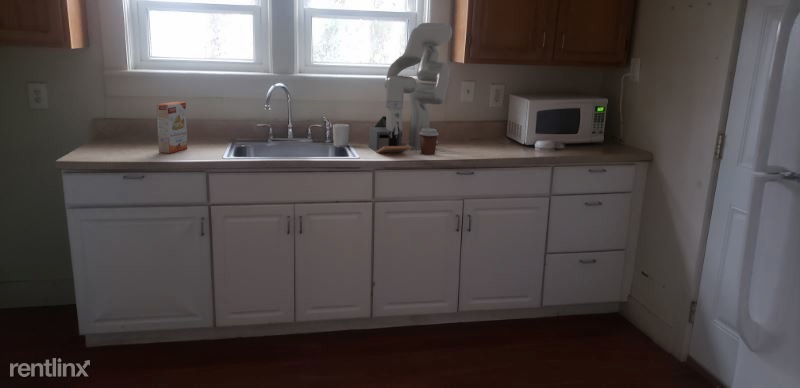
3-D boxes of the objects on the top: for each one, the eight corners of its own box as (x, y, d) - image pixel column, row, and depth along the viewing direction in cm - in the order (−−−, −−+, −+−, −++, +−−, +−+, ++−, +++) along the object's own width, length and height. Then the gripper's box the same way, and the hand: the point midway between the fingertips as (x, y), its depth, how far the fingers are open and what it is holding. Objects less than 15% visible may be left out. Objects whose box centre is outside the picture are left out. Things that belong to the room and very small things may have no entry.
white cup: (329, 145, 291) (329, 125, 288) (338, 143, 298) (338, 123, 295) (343, 147, 287) (343, 126, 285) (351, 145, 294) (352, 125, 292)
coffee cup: (429, 157, 271) (430, 131, 268) (413, 154, 277) (415, 128, 274) (441, 155, 278) (443, 129, 275) (426, 152, 283) (427, 127, 280)
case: (392, 147, 292) (393, 127, 290) (401, 153, 279) (402, 131, 277) (368, 148, 289) (369, 127, 286) (376, 153, 276) (377, 131, 273)
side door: (402, 150, 278) (411, 145, 266) (402, 152, 278) (411, 148, 266) (376, 150, 274) (383, 146, 262) (376, 152, 274) (384, 148, 262)
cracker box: (171, 154, 256) (168, 104, 251) (158, 153, 257) (155, 104, 252) (188, 148, 269) (186, 101, 264) (176, 147, 270) (173, 101, 265)
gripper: (407, 107, 257) (405, 149, 261) (397, 103, 271) (395, 144, 275) (391, 106, 255) (388, 149, 259) (381, 103, 268) (379, 144, 273)
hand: (392, 146), depth 267 cm, fingers closed
